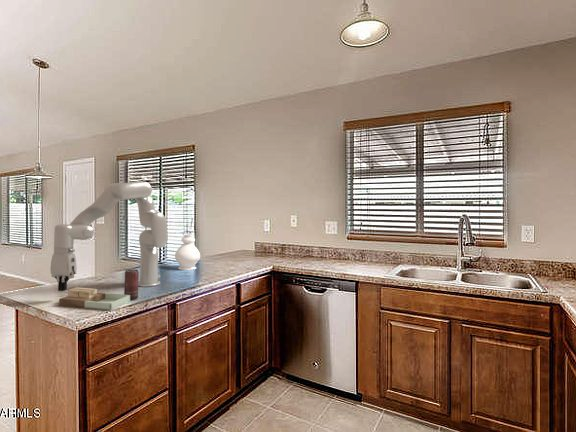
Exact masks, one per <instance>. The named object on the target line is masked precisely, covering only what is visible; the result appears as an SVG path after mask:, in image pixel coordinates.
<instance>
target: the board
mask: <svg viewBox="0 0 576 432" xmlns="http://www.w3.org/2000/svg"><path fill="white" fill-rule="evenodd" d="M105 294H106V292H98V291H97V296H94V297H91V298H81V297H69V296H68V295H67V296H64V297H61V298H59V300H58V306H59V307H71V308H79V309H80V308H82V309H86V308H85V301H94V302H98V301H101V300H103V299H105Z"/></svg>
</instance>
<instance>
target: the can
mask: <svg viewBox="0 0 576 432" xmlns="http://www.w3.org/2000/svg"><path fill="white" fill-rule="evenodd" d="M139 281H140V271H139V270H138V269H127V270H125V272H124V292H123V293H124V294H123V295H130V301H136V300H137V299H138V297H139V286H138V282H139Z"/></svg>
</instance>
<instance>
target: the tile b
mask: <svg viewBox="0 0 576 432" xmlns="http://www.w3.org/2000/svg"><path fill="white" fill-rule="evenodd" d="M85 288H86V289H83V290H80V291H79V297H81V298H91V297H94V296H97V292H98V289H97V288H92V287H91V288H90V287H89V288H88V287H85Z"/></svg>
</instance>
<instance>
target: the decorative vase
mask: <svg viewBox="0 0 576 432" xmlns="http://www.w3.org/2000/svg"><path fill="white" fill-rule="evenodd" d="M194 236H195V235H194V234H193V233H184V234H183V237H182V238H181V242H182V243H183V244H181V246H179V248H177V250H176V251H175V254H174V259H175V261H176V262H177V264H179V267H178V268H177V269H178V270H180V271H181V270H182V271H192V270H193V269H194V270H196V269H197V267H196V264H197V263H198V262H199V261H200V259H201V252H200V250H199V249H198V248H197V247H196V245H195V244H194V243H195V241H196V238H195V237H194ZM194 270H193V271H194Z"/></svg>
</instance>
